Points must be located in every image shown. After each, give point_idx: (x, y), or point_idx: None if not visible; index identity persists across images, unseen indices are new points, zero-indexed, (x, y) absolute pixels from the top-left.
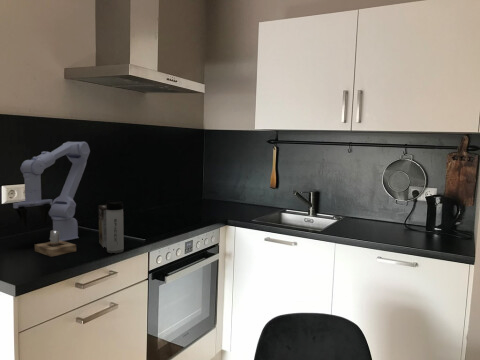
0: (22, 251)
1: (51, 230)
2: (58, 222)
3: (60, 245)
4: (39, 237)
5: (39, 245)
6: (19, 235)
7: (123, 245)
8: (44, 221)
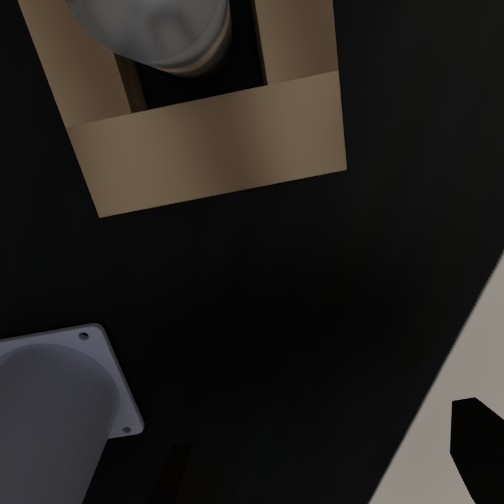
0: (401, 216)
1: (183, 49)
2: (4, 498)
3: (124, 64)
4: None
5: (322, 109)
6: None
7: None
8: (184, 458)
